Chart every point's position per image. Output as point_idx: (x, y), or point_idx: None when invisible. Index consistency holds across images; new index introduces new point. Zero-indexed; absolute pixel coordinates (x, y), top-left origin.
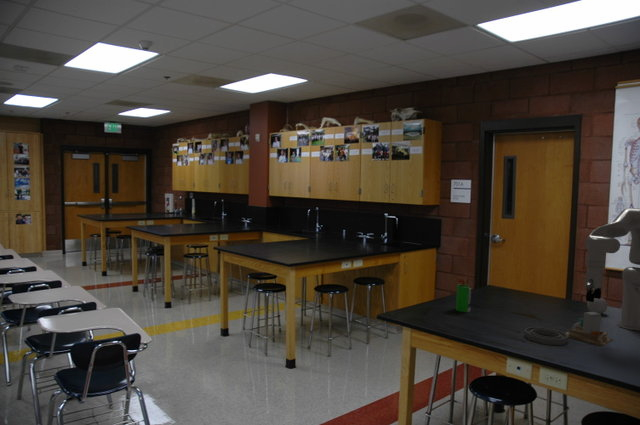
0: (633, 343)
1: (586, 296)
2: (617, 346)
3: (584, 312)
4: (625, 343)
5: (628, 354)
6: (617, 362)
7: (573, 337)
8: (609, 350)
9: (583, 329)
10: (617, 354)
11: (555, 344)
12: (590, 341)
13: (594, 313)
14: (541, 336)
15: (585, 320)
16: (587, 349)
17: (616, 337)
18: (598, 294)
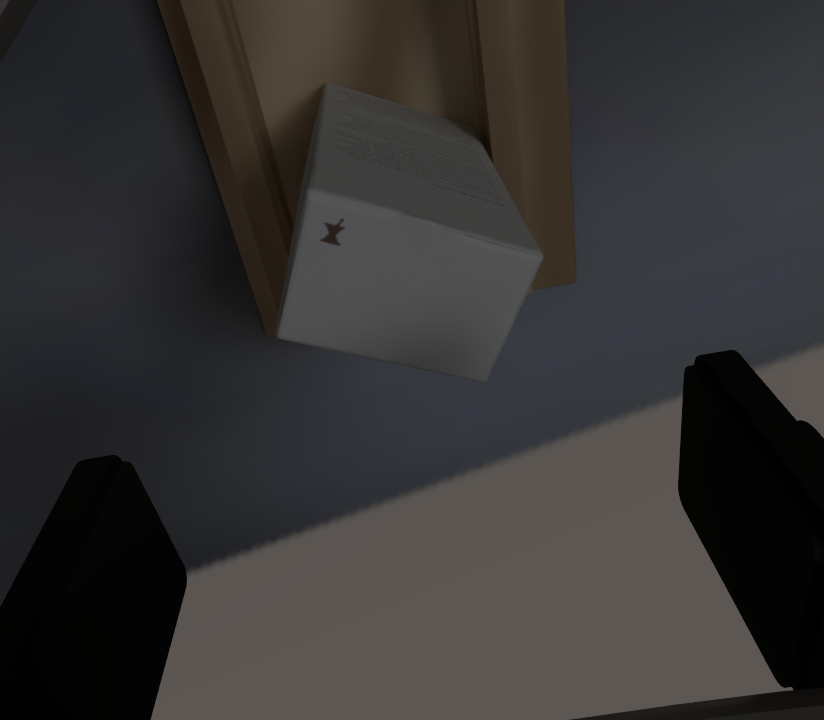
0: (628, 409)
1: (37, 553)
2: (398, 392)
3: (306, 193)
4: (563, 382)
5: (271, 511)
6: (2, 555)
7: (180, 37)
8: (209, 414)
9: (318, 114)
10: (179, 482)
11: None
12: (248, 226)
13: (414, 322)
14: None
15: (305, 181)
16: (10, 321)
17: (708, 256)
18: (726, 554)
